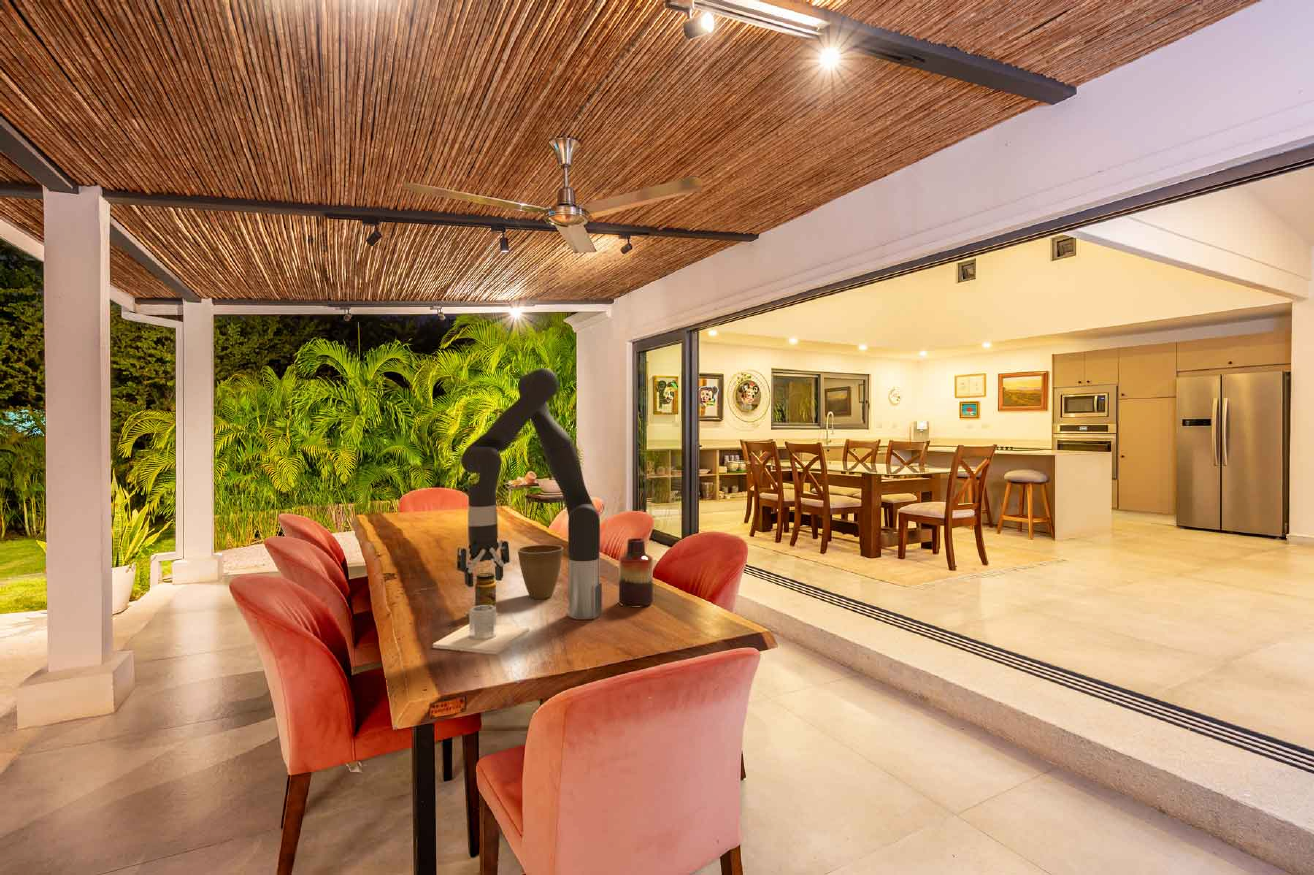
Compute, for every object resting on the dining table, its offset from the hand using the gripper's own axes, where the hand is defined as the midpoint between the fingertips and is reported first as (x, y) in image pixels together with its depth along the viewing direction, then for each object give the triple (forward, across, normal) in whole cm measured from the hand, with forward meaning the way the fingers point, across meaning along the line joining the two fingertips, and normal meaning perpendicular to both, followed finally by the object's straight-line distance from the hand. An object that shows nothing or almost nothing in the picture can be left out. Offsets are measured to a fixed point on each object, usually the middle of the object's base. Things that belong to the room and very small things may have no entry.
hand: (484, 583), depth 167 cm
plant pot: (+15, -36, -25) cm, 46 cm away
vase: (+16, -52, +3) cm, 55 cm away
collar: (+14, 0, -1) cm, 14 cm away
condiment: (+15, -12, -21) cm, 29 cm away
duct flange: (+15, 0, -1) cm, 15 cm away
